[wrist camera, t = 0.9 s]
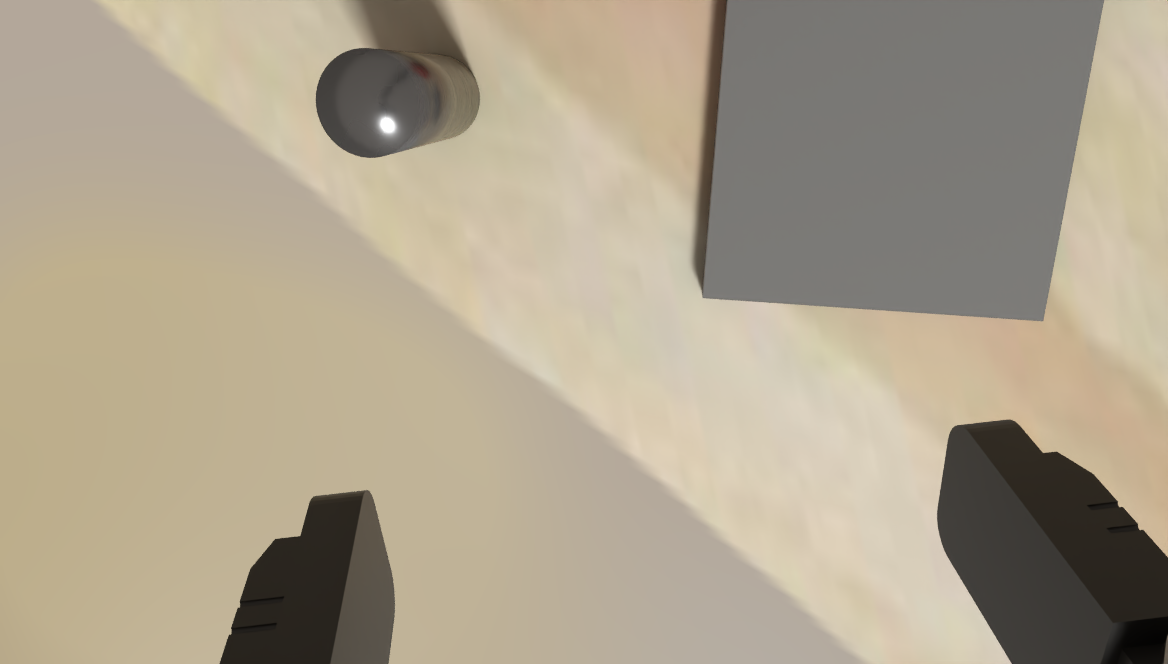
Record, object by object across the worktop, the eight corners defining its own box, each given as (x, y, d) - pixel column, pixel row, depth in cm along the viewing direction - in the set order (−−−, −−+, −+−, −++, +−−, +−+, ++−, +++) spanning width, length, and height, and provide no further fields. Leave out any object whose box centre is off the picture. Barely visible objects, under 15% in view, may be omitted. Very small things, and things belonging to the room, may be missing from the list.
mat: (730, -52, 31) (732, -56, 30) (1098, -38, 30) (1111, -43, 29) (702, 291, 34) (702, 298, 33) (1032, 314, 33) (1043, 321, 32)
